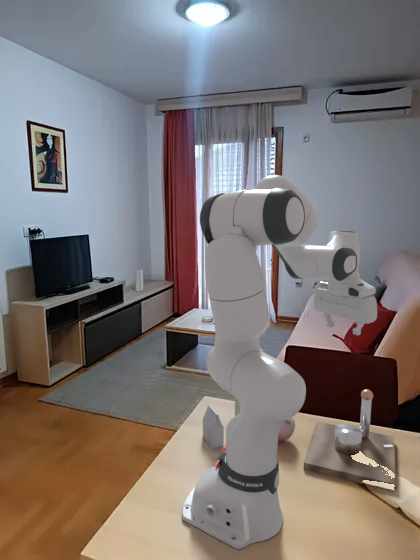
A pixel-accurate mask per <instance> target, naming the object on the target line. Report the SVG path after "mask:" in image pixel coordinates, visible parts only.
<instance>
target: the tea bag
mask: <svg viewBox="0 0 420 560" xmlns="http://www.w3.org/2000/svg"><path fill="white" fill-rule="evenodd" d="M224 431H225V427H224V425H223V422H221V419H220V416H219V414H218V412H216V410H215V409H213V407H212V406H211V405H210V404H208V405H207V407H206V410H205V412H204V415H203V417H202V437H203V438H205V439H204V440H205V442H206V443H207V444H208V446H209V447H210V448H211V449H212V450H213V449H216V448H220V447H224V445H225V443H224V442H225V440H224V439H225V438H224V436H225V434H224Z"/></svg>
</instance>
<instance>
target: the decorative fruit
mask: <svg viewBox="0 0 420 560" xmlns="http://www.w3.org/2000/svg"><path fill="white" fill-rule="evenodd" d="M295 429H296V421H295V419H294V416H293V417H291V418H290V419H288V420H285V421H283V422H282V424H281V426H280V429H279V433H278V442H281V441H287V440H288V439H290V438H291V437H292V435H293V434H294V432H295Z"/></svg>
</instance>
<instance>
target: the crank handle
mask: <svg viewBox="0 0 420 560" xmlns="http://www.w3.org/2000/svg"><path fill="white" fill-rule="evenodd" d="M360 397H361V406H360V421H359V422H360V423H359V427H358V426H357V425H354V424H350V423H340V424H337V426H336V427H335V441H334V446H335V448H336V449H337V450H338V451H339V452H341V453H344V454H348V455H355V454H357V453H359V451H361V441H362V439H365V440H367V439H369V432H370V428H371V415H372V413H371V412H372V403H373V401H372V400H373V398H374V393H373V392H372V390H370V389H368V388H366V389H363V390H362V391H361V393H360Z"/></svg>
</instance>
